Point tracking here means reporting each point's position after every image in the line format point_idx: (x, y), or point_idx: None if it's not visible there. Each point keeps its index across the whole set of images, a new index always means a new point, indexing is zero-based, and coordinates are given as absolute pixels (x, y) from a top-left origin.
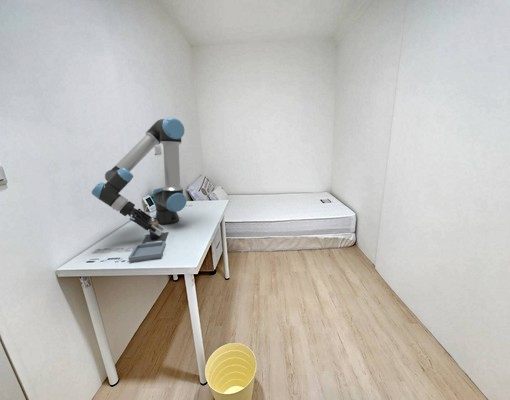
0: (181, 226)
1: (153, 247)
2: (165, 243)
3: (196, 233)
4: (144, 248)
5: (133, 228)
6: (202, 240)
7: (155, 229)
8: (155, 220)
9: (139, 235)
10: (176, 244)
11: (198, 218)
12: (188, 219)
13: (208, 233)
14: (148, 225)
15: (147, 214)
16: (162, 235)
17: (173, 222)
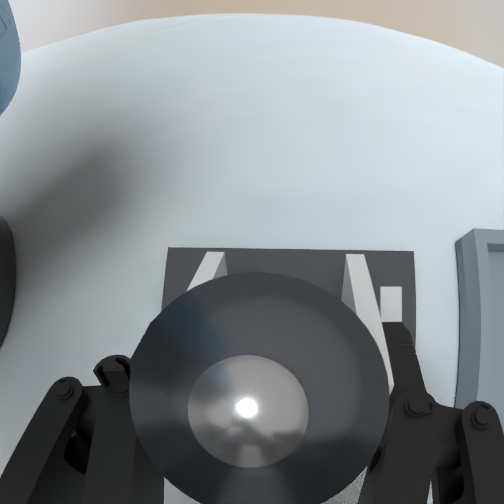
0: (81, 174)
1: (495, 330)
2: (468, 235)
3: (267, 62)
4: (488, 402)
5: None
6: (389, 42)
7: (389, 331)
8: (349, 313)
9: None
10: (438, 168)
11: (31, 109)
12: (10, 159)
13: (291, 19)
14: (487, 421)
15: (2, 486)
16: None
17: (7, 238)
